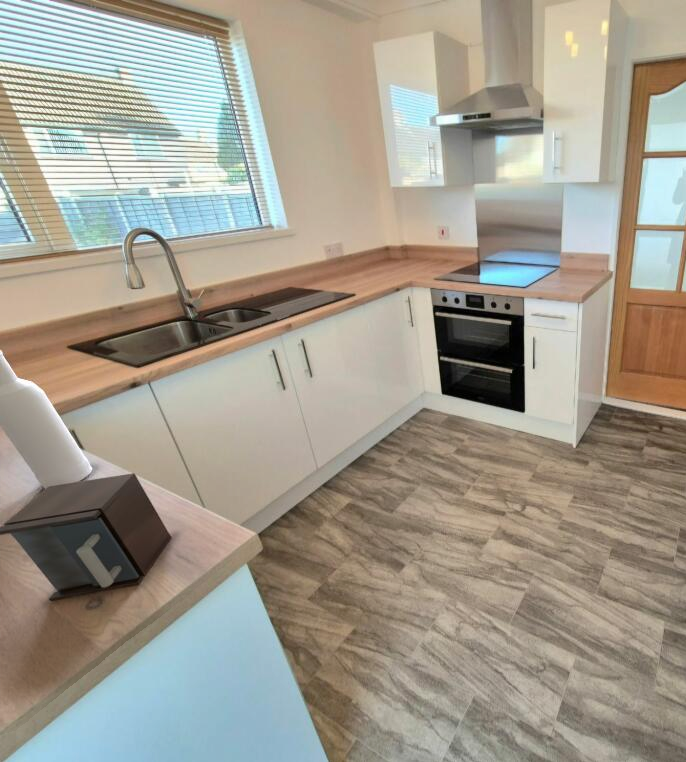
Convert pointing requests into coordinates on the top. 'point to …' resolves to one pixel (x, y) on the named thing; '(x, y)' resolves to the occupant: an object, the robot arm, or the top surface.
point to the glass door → (95, 552)
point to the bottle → (38, 431)
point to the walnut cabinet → (81, 503)
